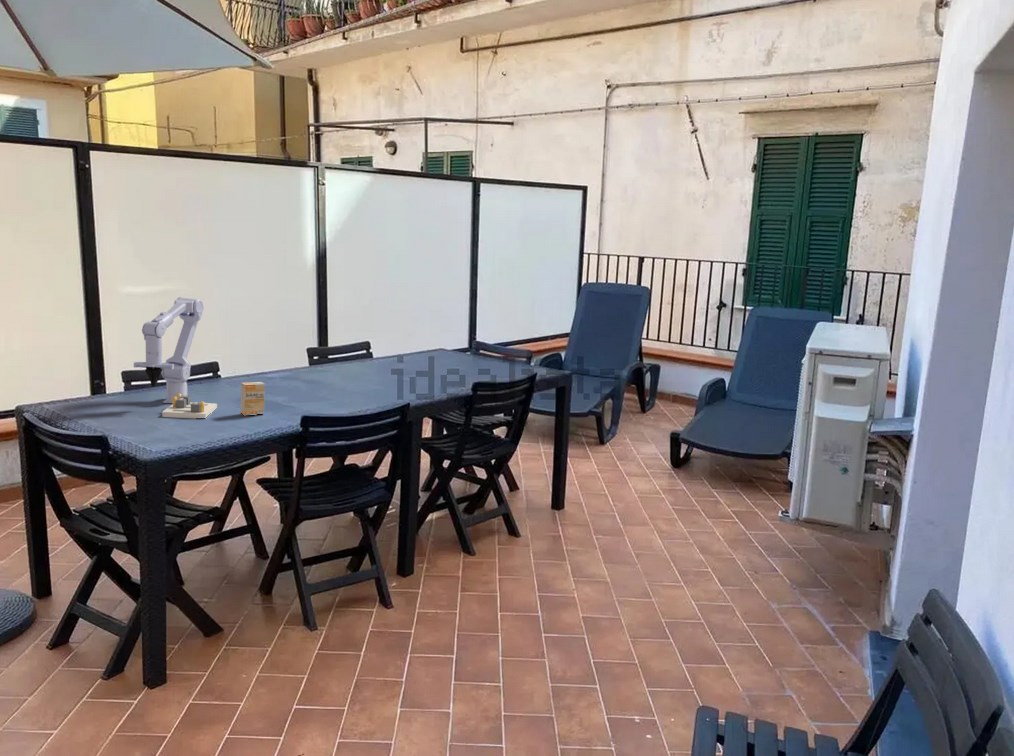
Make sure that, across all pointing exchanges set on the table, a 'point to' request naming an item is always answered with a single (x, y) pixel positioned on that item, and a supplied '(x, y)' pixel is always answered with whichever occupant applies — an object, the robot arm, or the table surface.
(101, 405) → the table surface
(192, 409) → the front knob
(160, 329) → the robot arm
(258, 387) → the supplement box
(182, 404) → the middle knob
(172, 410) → the switch panel
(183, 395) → the rear knob
